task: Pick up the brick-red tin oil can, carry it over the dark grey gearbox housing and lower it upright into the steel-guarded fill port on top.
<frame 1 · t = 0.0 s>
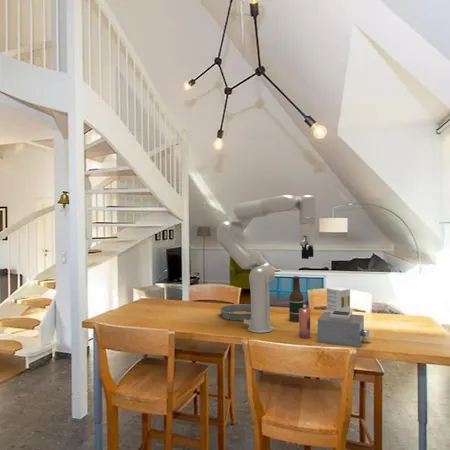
hand: (307, 257, 181), 37 cm above the table, tool pointing down, fingers open, 9 cm apart
beer bottle: (296, 321, 208), on the table
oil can: (304, 336, 179), on the table
supplement box: (338, 319, 211), on the table
cake pan: (240, 316, 220), on the table
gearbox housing: (341, 339, 175), on the table
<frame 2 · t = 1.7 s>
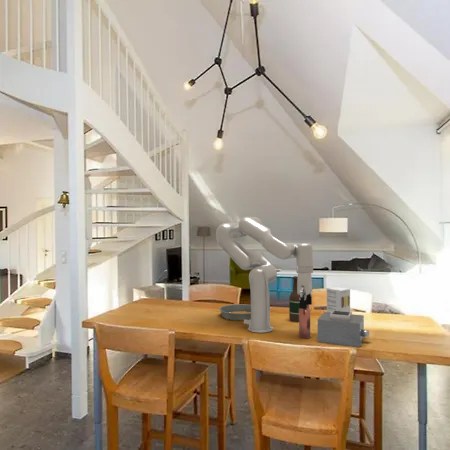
hand: (305, 306, 179), 14 cm above the table, tool pointing down, fingers open, 9 cm apart
nothing on the table moved.
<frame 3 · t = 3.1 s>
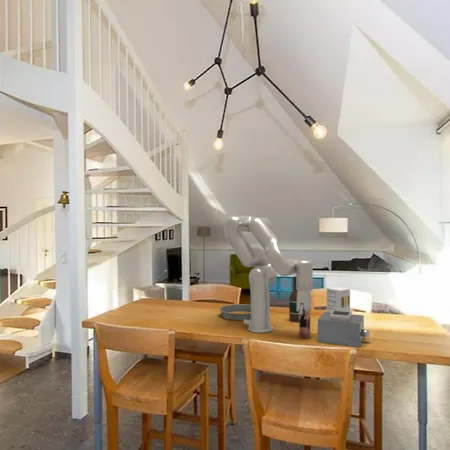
hand: (304, 325, 179), 5 cm above the table, tool pointing down, fingers closed on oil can, 5 cm apart
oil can: (304, 336, 179), on the table, touching gripper
everything else where it was.
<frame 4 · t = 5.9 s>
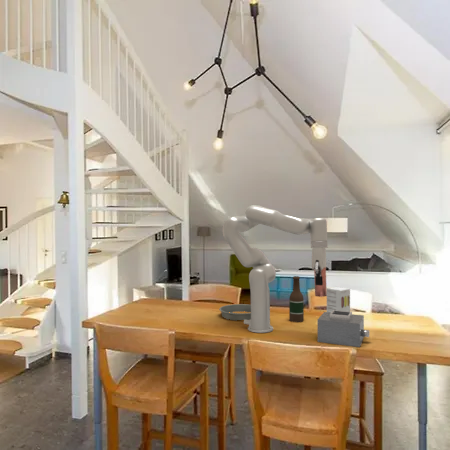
hand: (320, 283, 177), 25 cm above the table, tool pointing down, fingers closed on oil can, 5 cm apart
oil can: (320, 295, 177), point 20 cm above the table, touching gripper
everything else where it was.
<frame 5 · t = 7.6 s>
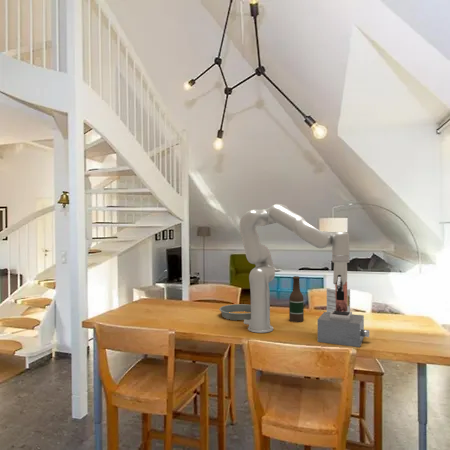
hand: (341, 298, 175), 19 cm above the table, tool pointing down, fingers closed on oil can, 5 cm apart
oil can: (341, 310, 175), point 13 cm above the table, touching gripper
everything else where it was.
when the fingers open (14 cm above the table, at t = 8.8 s): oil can stays where it is, resting on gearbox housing.
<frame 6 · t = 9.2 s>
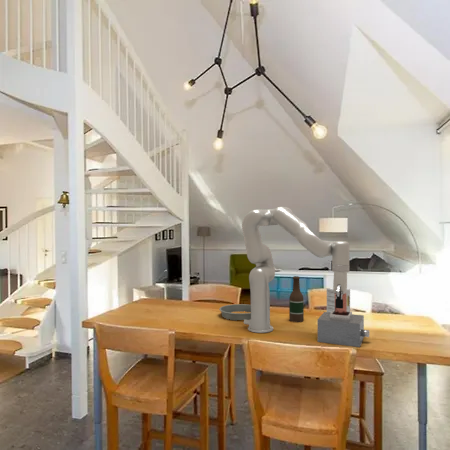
hand: (340, 305, 175), 15 cm above the table, tool pointing down, fingers open, 9 cm apart
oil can: (340, 321, 175), point 8 cm above the table, touching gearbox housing
everything else where it was.
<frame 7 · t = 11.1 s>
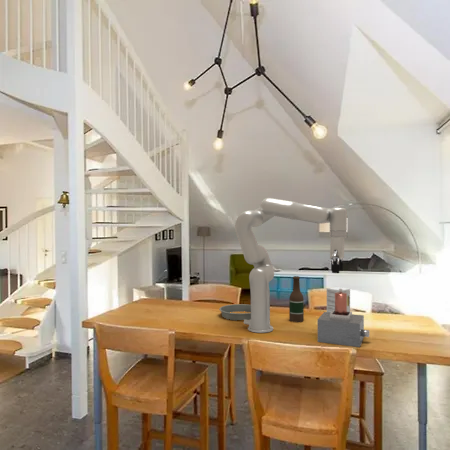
hand: (337, 271, 177), 31 cm above the table, tool pointing down, fingers open, 9 cm apart
nothing on the table moved.
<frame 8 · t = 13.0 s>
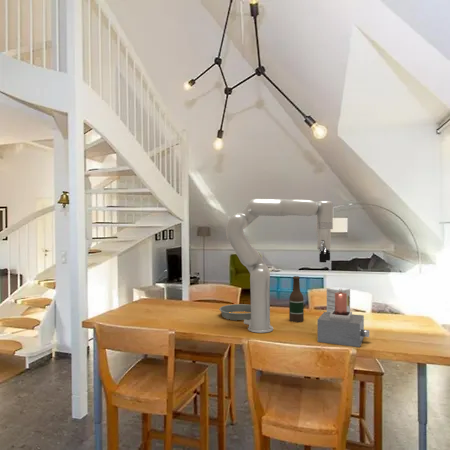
hand: (324, 261, 187), 34 cm above the table, tool pointing down, fingers open, 9 cm apart
nothing on the table moved.
at the end: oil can 0.1 cm off-centre on the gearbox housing, point 8.0 cm above the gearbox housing's base; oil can tilted 0°; the gripper is holding nothing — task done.
